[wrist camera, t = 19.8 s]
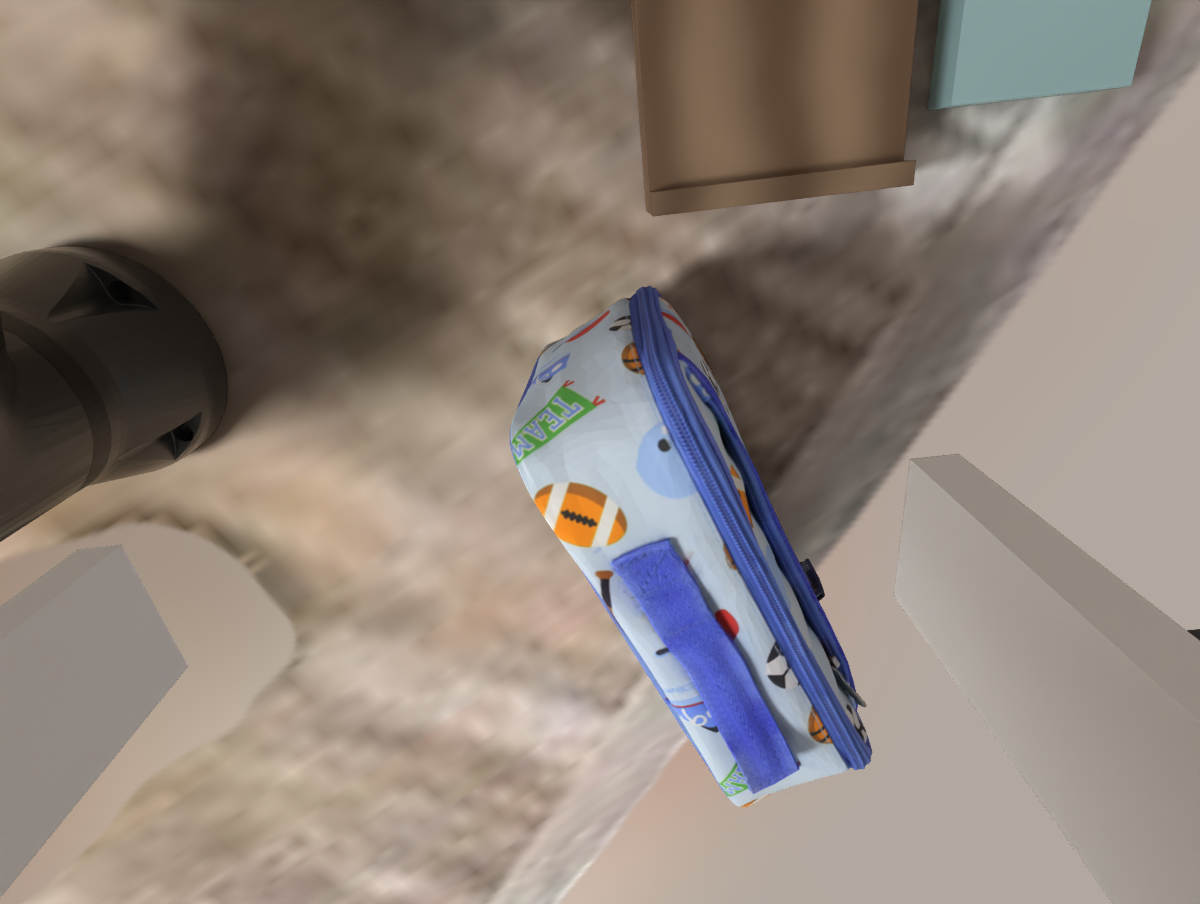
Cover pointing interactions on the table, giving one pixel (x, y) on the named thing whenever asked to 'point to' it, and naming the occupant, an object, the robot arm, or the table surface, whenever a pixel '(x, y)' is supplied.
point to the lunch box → (687, 548)
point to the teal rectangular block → (1033, 49)
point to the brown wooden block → (771, 99)
